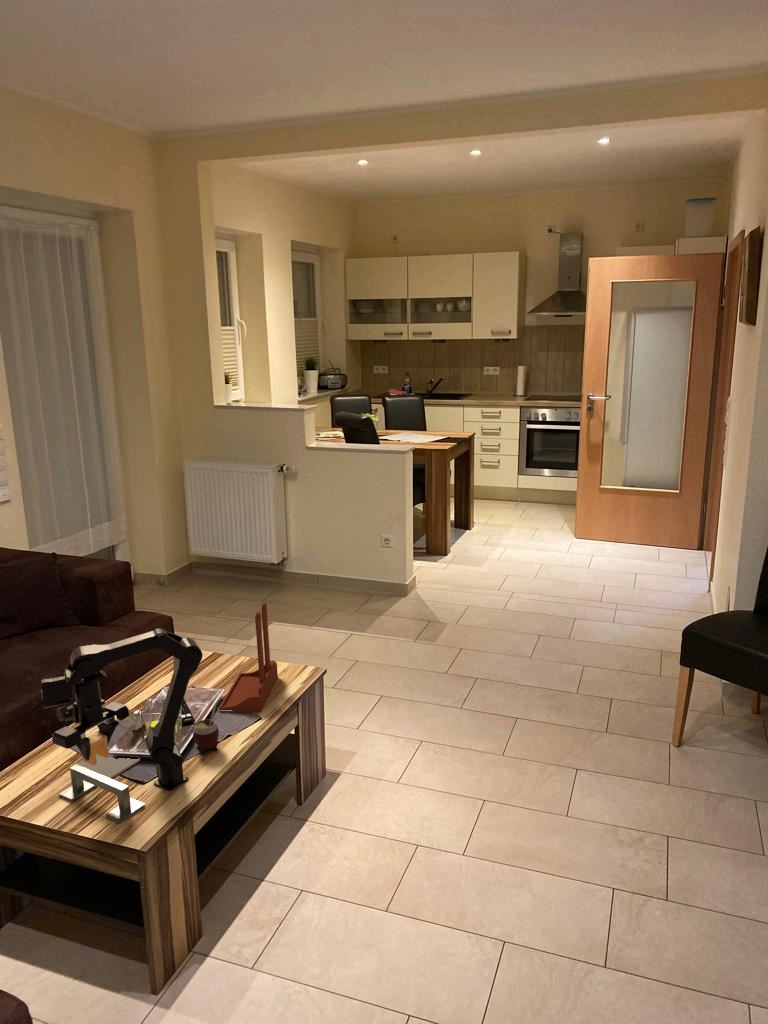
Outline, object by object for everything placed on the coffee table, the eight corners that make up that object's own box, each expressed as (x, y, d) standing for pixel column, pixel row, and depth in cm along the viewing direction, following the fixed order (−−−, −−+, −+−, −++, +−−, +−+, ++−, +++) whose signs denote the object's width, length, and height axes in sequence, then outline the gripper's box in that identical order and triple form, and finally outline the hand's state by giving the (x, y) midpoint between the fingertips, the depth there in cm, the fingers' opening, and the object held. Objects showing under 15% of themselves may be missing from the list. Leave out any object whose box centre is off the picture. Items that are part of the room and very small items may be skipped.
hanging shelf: (240, 677, 264) (233, 594, 257) (277, 678, 263) (272, 594, 255) (219, 712, 240) (211, 621, 233) (260, 712, 239) (254, 622, 232)
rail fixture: (145, 806, 193) (142, 781, 192) (119, 824, 187) (116, 798, 185) (85, 780, 205) (82, 757, 204) (59, 796, 199) (55, 772, 197)
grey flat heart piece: (140, 723, 234) (137, 699, 232) (145, 724, 234) (142, 700, 232) (125, 735, 228) (122, 710, 226) (130, 736, 227) (127, 711, 225)
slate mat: (141, 760, 214) (140, 759, 214) (105, 782, 204) (105, 780, 204) (107, 747, 221) (107, 745, 221) (71, 768, 211) (71, 766, 211)
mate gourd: (190, 754, 216) (185, 705, 213) (203, 740, 224) (199, 692, 220) (214, 757, 214) (209, 708, 211) (227, 743, 222) (223, 695, 218)
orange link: (109, 756, 194) (106, 735, 193) (93, 765, 190) (90, 744, 189) (98, 752, 196) (96, 731, 195) (82, 761, 192) (80, 740, 191)
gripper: (98, 676, 201) (104, 730, 205) (34, 706, 186) (42, 764, 190) (127, 685, 196) (133, 741, 199) (63, 717, 180) (71, 777, 184)
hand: (95, 755), depth 193 cm, fingers closed on orange link, 5 cm apart
